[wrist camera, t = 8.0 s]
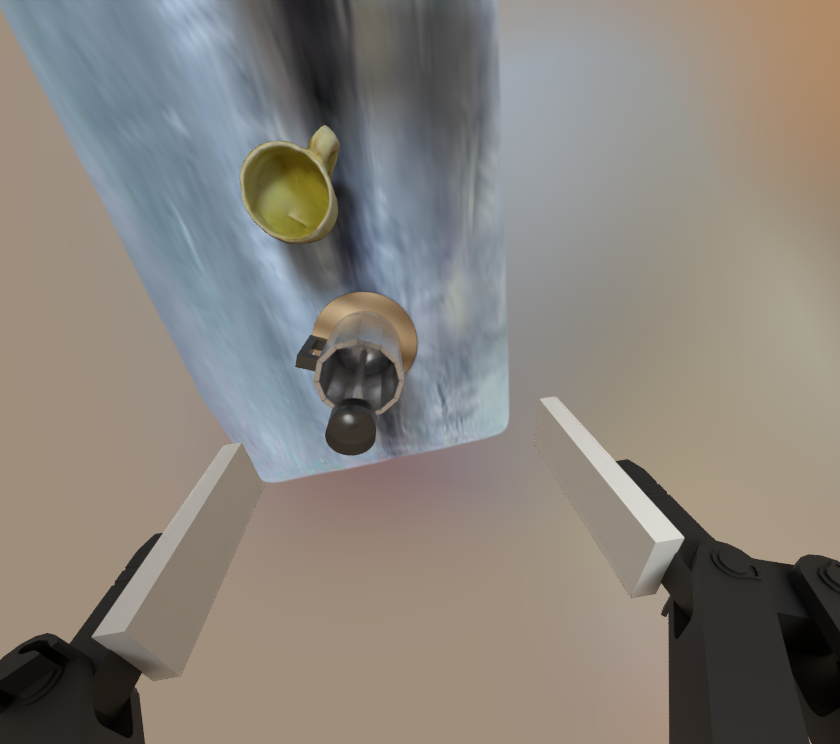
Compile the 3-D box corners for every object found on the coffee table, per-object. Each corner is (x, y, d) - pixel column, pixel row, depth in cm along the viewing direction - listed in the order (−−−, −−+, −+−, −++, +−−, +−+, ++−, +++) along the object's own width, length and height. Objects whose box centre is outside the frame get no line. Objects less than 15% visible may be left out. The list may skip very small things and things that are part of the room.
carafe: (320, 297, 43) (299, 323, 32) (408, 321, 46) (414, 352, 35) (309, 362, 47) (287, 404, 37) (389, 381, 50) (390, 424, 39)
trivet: (322, 277, 42) (321, 278, 42) (429, 308, 46) (430, 309, 45) (305, 375, 49) (304, 377, 48) (400, 396, 52) (401, 397, 52)
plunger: (345, 321, 42) (316, 394, 25) (394, 334, 44) (400, 411, 26) (335, 366, 45) (303, 459, 28) (382, 377, 47) (380, 472, 29)
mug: (307, 274, 40) (276, 252, 30) (254, 210, 39) (204, 166, 29) (378, 215, 40) (370, 173, 30) (327, 150, 39) (301, 84, 29)
